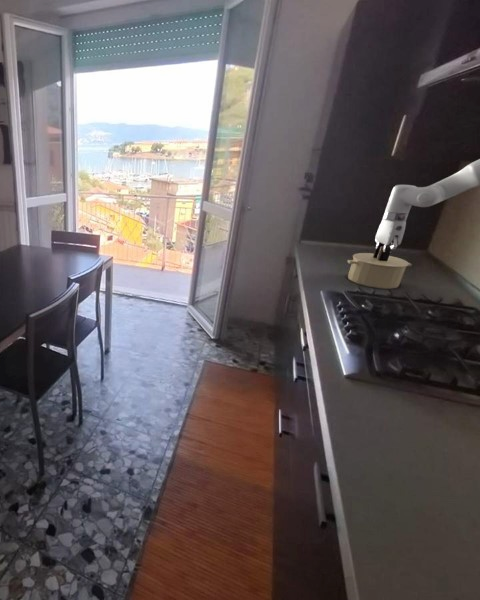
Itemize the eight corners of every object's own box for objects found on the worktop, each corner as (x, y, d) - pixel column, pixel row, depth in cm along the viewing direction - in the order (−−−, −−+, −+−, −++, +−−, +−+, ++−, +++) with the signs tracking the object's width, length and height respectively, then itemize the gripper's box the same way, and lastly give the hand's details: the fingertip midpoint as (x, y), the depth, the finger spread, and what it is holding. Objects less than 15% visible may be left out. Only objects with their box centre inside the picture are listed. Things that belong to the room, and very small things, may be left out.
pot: (416, 290, 147) (425, 268, 143) (353, 286, 151) (360, 265, 147) (390, 275, 163) (397, 255, 159) (334, 272, 167) (339, 253, 163)
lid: (419, 270, 143) (425, 254, 141) (366, 267, 147) (371, 252, 144) (390, 256, 161) (396, 242, 158) (344, 254, 164) (348, 240, 161)
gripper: (419, 220, 138) (401, 265, 145) (393, 212, 152) (378, 254, 160) (397, 220, 139) (381, 264, 147) (373, 212, 154) (360, 253, 161)
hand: (380, 258), depth 153 cm, fingers open, 3 cm apart
